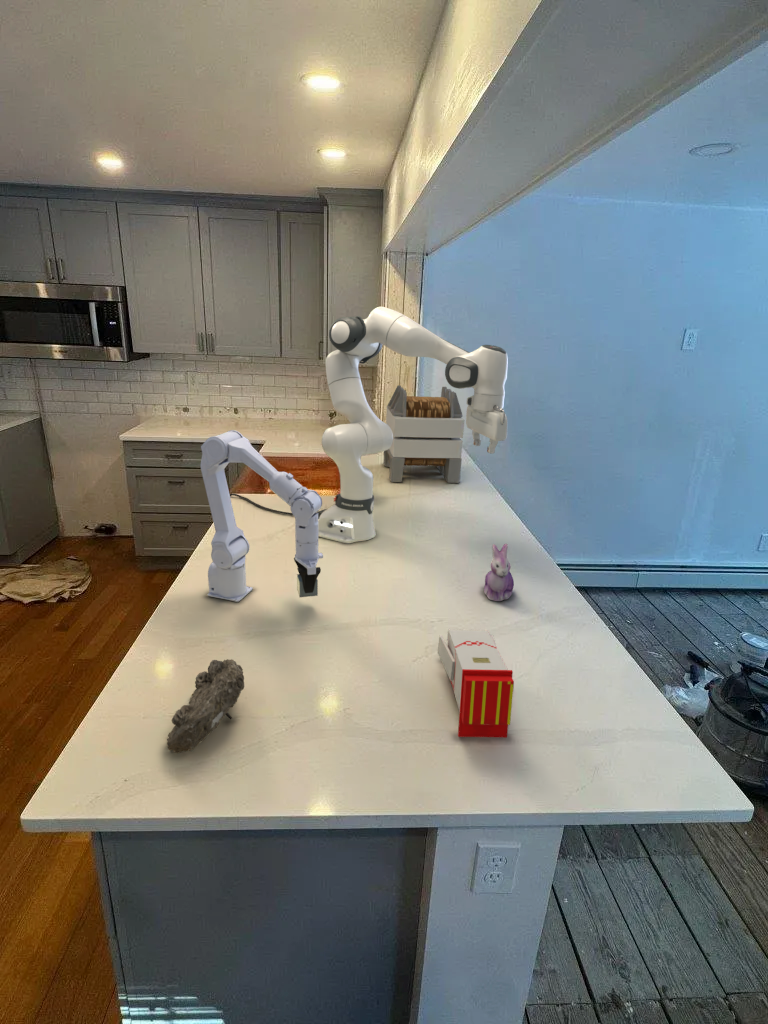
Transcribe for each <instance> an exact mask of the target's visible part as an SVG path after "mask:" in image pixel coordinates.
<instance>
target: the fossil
mask: <svg viewBox="0 0 768 1024" xmlns="http://www.w3.org/2000/svg"><path fill="white" fill-rule="evenodd" d="M243 670H244V669H243V667H242V665H240V664H237V662H236V661H235V660H234V659H232V658H231V659H227V658H226V659H224V660H223V661H222V660H217V659H212V660H211V661H210V663H209V665H208V666H207V671H201V672H199V673H198V674H197V675H196V676H195V680H194V684H195V685H194V687H195V689H194V690H193V693H192V694H191V697H190V698H189V700H188V704H184V705H182V706H181V707H180V709H177V710H176V711H175V713H174V715H173V716H172V718H171V723H172V724H173V727H172V730H171V731H170V732H168V734H167V738H166V741H167V742H166V745H167V749H168V750H169V751H173V752H174V753H176V754H178V753H182V752H188V751H189V752H192V751H193V750H195V748H196V747H197V746H199V744H200V743H201V742H203V741H204V740H205V739H206V738H207V737H208V736H209V735H210V734H211V733H212V732H214V730H215V729H217V727H218V726H219V724H220V722H221V721H222V720H223V719H224V718H225V716H226V717H227V719H229V720H233V717H232V715H230V714H229V710H230V709H231V708H234V706H235V704H236V703H237V702H238V699H239V697H240V695H241V693H242V691H243V690H245V689H244V688H245V675H244V671H243Z"/></svg>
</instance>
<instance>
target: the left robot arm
mask: <svg viewBox="0 0 768 1024" xmlns="http://www.w3.org/2000/svg"><path fill="white" fill-rule="evenodd" d="M200 450H201V460H200V463H199V464H200V465H199V467H200V471H201V476H202V480H203V483H204V488H205V492H206V496H207V497H206V498H207V501H208V506H209V510H210V513H211V518H212V522H213V526H214V531H215V533H214V535H213V537H212V540H211V542H210V544H211V553H210V558H211V561H212V562H211V563H210V564H209V566H208V570H207V583H208V593H207V596H208V597H211V598H217V599H221V600H226V601H231V602H236V603H238V602H240V601H241V600H243V598H245V597H246V596H247V595H248V594H249V593H250V592H252V591H253V590H254V588H253V587H252V586H247V571H246V559H247V557H246V555H248V554H249V552H250V550H251V549H250V547H251V545H250V543H249V540H248V539H247V538H246V536H245V533H244V530H243V529H241V528H240V527H238V526H237V521H236V517H235V513H234V508H233V504H232V499H231V496H230V494H231V493H230V491H229V486H228V482H227V481H228V480H227V477H226V473H225V469H226V468H227V466H228V465H229V463H230V464H231V463H232V464H233V463H234V464H235V463H239V464H240V463H241V464H244V465H245V466H247V468H249V469H251V470H252V471H254V472H255V473H256V474H257V475H259V476H261V477H262V478H263V479H264V480H265V481H267V482H268V485H269V489H270V491H272V493H274V494H275V495H276V496H277V497H278V498H280V499H281V500H282V501H283V502H285V504H286V505H288V506H289V507H290V513H292V514H293V515H292V516H293V517H294V533H295V541H294V542H295V553H294V557H293V561H294V563H295V564H296V566H297V572H298V574H300V576H301V578H302V582H303V588H304V592H305V593H313V591H314V587H315V582H316V579H317V580H318V577H319V575H320V574H321V570H322V568H321V567H320V566H317V565H318V562H319V560H320V559H323V558H324V554H323V553H322V552H319V536H318V521H319V519H318V511H320V510H321V508H322V506H323V500H322V497H321V495H320V494H319V493H318V492H317V491H316V490H314V489H308V488H307V487H306V486H303V485H302V484H301V483H300V482H298V481H297V480H296V479H295V478H294V475H293V474H292V473H291V472H289V473H288V472H287V471H278V470H277V469H276V468H275V467H274V466H273V465H272V464H271V463H270V462H269V461H268V460H267V459H266V458H265V457H264V456H263V455H261V454H260V453H259V452H258V451H257V449H255V448H254V447H253V445H252V444H251V442H250V440H249V439H248V438H247V437H246V436H243V434H242V433H241V432H240V431H239V430H235V429H230V430H227V431H225V432H223V433H220V434H218V435H214V436H209V437H208V438H207V439H206V440H205V441H204V442H203V443H202V444H201V445H200Z"/></svg>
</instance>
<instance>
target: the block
mask: <svg viewBox="0 0 768 1024" xmlns="http://www.w3.org/2000/svg"><path fill="white" fill-rule="evenodd" d="M318 583H319V581H318V578H317V579H316V582H315V587H314V591H313V593H305V592H304V588H303V582H302V578H301V576H300V574H299V573H298V574H296V591H297V594H298V596H299V598H307V597H318V595H319V593H318V592H319V589H318V587H319V584H318Z"/></svg>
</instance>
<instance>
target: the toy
mask: <svg viewBox="0 0 768 1024" xmlns="http://www.w3.org/2000/svg"><path fill="white" fill-rule="evenodd" d="M446 640H447V643H446V641H445V639H444V636H443V635H442V634H439V637H438V646H437V656H438V657H439V659H440V661H441V663H442V666H443V668H444V670H445V672H446V674H447V677H448V679H449V681H450V684H451V687H452V690H453V693H454V697H455V701H456V705H457V708H458V711H459V714H458V715H459V716H458V730H457V731H458V732H457V737H458V738H508V731H509V726H510V725H511V717H512V707H513V697H514V696H513V695H514V684H515V680H514V679H513V673H514V671H513V670H512V669H508V667H507V665H506V662H505V661H504V659H503V658H502V655H501V653H500V651H499V649H498V647H497V643H496V639H495V637H494V635H493V634H491V632H490V631H489V629H467V628H466V629H465V628H463V629H461V628H460V629H459V628H448V630H447V639H446Z"/></svg>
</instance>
